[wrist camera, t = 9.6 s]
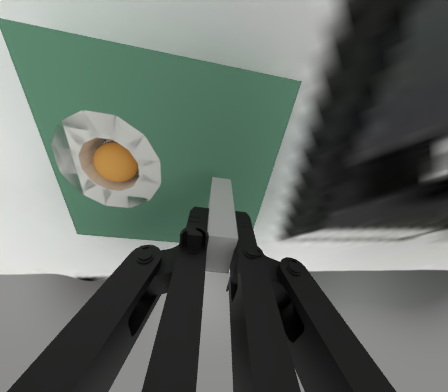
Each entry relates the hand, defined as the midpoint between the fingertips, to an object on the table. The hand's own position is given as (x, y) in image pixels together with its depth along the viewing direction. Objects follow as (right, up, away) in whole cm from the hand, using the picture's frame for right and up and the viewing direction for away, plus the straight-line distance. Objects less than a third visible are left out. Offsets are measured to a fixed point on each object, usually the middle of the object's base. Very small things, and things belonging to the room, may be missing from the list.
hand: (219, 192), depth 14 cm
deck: (-5, +4, +5) cm, 8 cm away
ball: (-10, +3, +3) cm, 11 cm away
